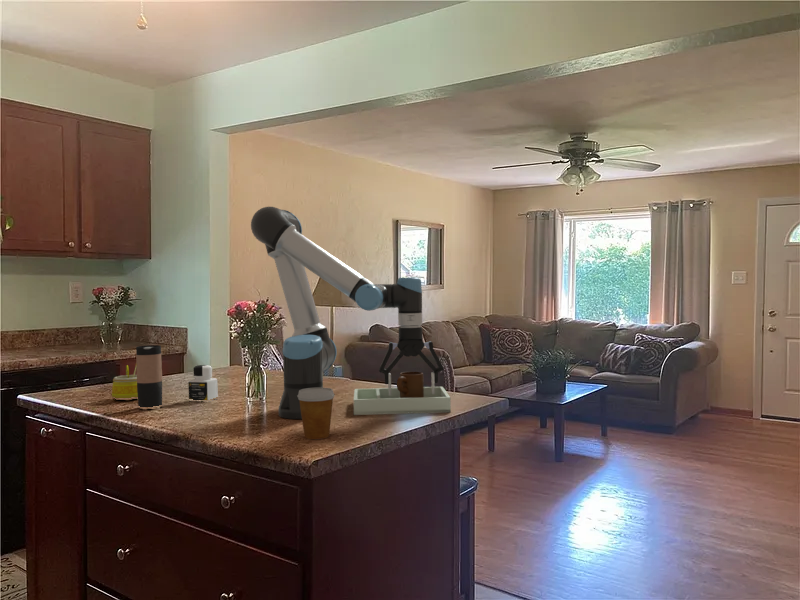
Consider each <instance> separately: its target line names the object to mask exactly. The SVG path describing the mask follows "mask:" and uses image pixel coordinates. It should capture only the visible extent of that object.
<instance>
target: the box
mask: <svg viewBox="0 0 800 600" xmlns="http://www.w3.org/2000/svg"><path fill="white" fill-rule="evenodd" d="M451 402H452V401H451V396H450V395H449V393H448V392H447V391H446V389H445V388H444V386H435V394H432V393H431V386H424V397H422V398H400V391H399V390H398V389H397V387H391V395H389V389H388V387H378V388H376V387H375V388H373V387H372V388H371V387H370V388H354V391H353V415H354V416H361V415H363V416H364V415H366V416H370V415H395V414H396V415H401V414H403V415H404V414H434V413H436V414H439V413H441V414H442V413H451V411H452V410H451V409H452V408H451V407H452V406H451Z"/></svg>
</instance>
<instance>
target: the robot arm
mask: <svg viewBox="0 0 800 600" xmlns="http://www.w3.org/2000/svg"><path fill="white" fill-rule="evenodd" d="M250 228H251V232H252V234H253V236H254V237H255V239H256V240H258V241H259V242H260V243H262V244H264V246H265V250H266V252H267V256H268V257H270V258H272V259H273V260H274V263H275V267H276V270H277V273H278V277H279V281H280V284H281V288H282V290H283V295H284V298H285V302H286V305H287V309H288V312H289V315H290V320H291V323H292V326H293V329H294V332H293V333H292V335H291V336H289V337H287V338H286V339H284V341H283V344H282V350H281V351H282V361H283V393H282V395H281V398H280V402H279V405H278V417H280V418H283V419H289V420H290V419H291V420H302V416H301V409H300V402H299V399H298V397H297V395H298V394H299V390H301V389H306V388H324V384H323V383H324V378H323V377H324V376H323V373H324V372H326V371H327V370H329V369H330V368H331V366H333V364H334V363H335V361H336V358H337V352H338V351H337V350H338V349H337V346H336V343H335V342H334V341H333V340H332V338H331V337H330V335H329V331H328V328H327V326H325V325H324V324H322V323H321V320H320V317H319V313H318V311H317V307H316V303H315V300H314V295H313V293H312V289H311V285H310V281H309V278H308V275H307V271H306V269H307V270H309V271H310V272H312V273H313V274H315V275H316V276H317V277H319V278H320V279H322V280H323V281H325V282H326V283H328V284H329V285H330V286H332V287H334V288H335V289H337V290H338V291H339V292H341V293H343V294H344V295H345V296H346V297H348V298H349V299H351V300H352V301H353V302H355V303H356V305H357V306H358V307H359V308H360V309H362V310H365V311H375V310H377V309H392V308H393V309H395V308H397V309H398V310H397V311H398V312H397V313H398V315H397V316H398V317H397V319H398V321H397V323H398V326H399V327H398V341H397V342H392V341H389V343H388V349H387V351H386V353H385V355H384V357H383V360H382V362H381V364H380V366H379V367H378V372H379V373H382V374H383V375H384V384H385V385H388V387H387V388H388V389H389V395H391V388H392V374H391V373H390V372H391V371H392V370H393V368H394V367H395V366H396V365H397V364H398V362H399V361H400V360H401V359H402V358H403V356H405V357H406V358H407V357H417V356H420V358H421V359H422V360H423V361H424V362H425V363H426V364H427V366H428V367H429V368H430V369H431V370H432V371H433V372H430V376H431V377H430V381H431V383H430V384H431V385H430V387H431V393H432V394H435V387H436V385H435V384H438V383H439V373H440V372H442V371H444V370H445V369H444V366H443V364H442V362H441V360H440V359H439V357H438V355H437V353H436V351H435V349H434V344H433V342H432V341H431V340H429V341H427V342H424V339H423V337H424V336H423V334H424V333H423V327H422V325H423V291H422V290H423V289H422V280H421V278H419V277H399V278H398V279H397V282H396V283H390V284H387V283H383V284H382V283H381V284H380V283H373V282H372V281H371V280H369V279H367V278H366V277H365V276H363V275H361V274H360V273H359V272H357V270H355V269H353V268H352V267H350V266H349V265H347V264H346V263H344V261H341V260H340V259H339V258H337V257H335V255H333V254H331V253H329V252H328V251H327V250H325V249H324V248H322V247H321V246H320V245H318V244H316V243H315V242H313V241H312V240H310V239H309V238H308V237H307V236H305V235H303V227H302V224H301V221H300V219H299V218H298V217H297V215H295V214H293V213H292V212H291V211H289V210H286V209H280V208H278V207H275V206H265V207H262V208H260V209H258V210H257V211H256V212H255V213H254V214H253V216H252V218H251V220H250ZM424 347H426V349H428V351H429V352H430V353H431V356H432V358H433V360H434V361H435V364H436V365H437V367H435V365H434V364H433V363H432V361H430V359H429V358H428V357H427V356H426V355H425V354H424V353H423V352H422V350H423V349H424ZM396 348H398V350H399V352H398V353H397V355H396V356H395V357H394V358H393V360H391V362H390V363H389V365H388V366H387V364H388V363H387V362H388V361H389V359H390V357H391V354H392V352H393V350H394V351H395V349H396ZM386 366H387V367H386ZM385 367H386V368H385Z"/></svg>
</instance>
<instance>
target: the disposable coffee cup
mask: <svg viewBox="0 0 800 600" xmlns="http://www.w3.org/2000/svg"><path fill="white" fill-rule="evenodd" d="M335 396H336V395H335V393H334V390H333V388H330V387H323V388H306V389H301V390H299V394H298V395H297V397H298V399H299V402H300V409H301V416H302V419H301V421H302V426H303V435H304V439H308V440H323V439H327V438H329V437H330V431H331V422H332V421H331V420H332V411H333V401H334V397H335Z"/></svg>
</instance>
